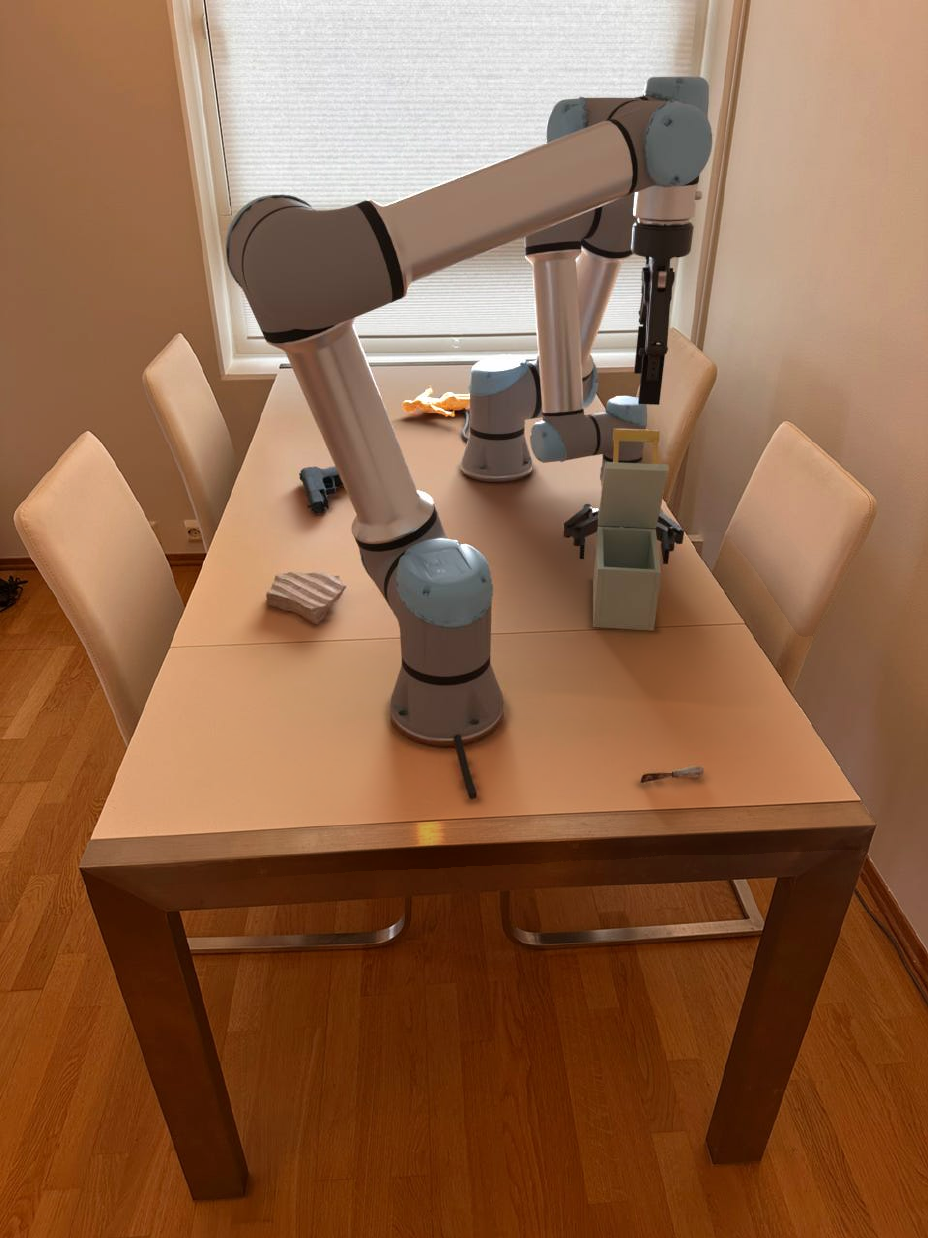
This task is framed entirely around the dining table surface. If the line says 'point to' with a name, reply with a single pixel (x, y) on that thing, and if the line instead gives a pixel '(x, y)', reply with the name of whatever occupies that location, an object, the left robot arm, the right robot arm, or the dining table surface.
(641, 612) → the chest
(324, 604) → the stone
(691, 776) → the putty knife
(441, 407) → the human figure
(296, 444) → the dining table surface
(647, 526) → the lid
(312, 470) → the handgun
